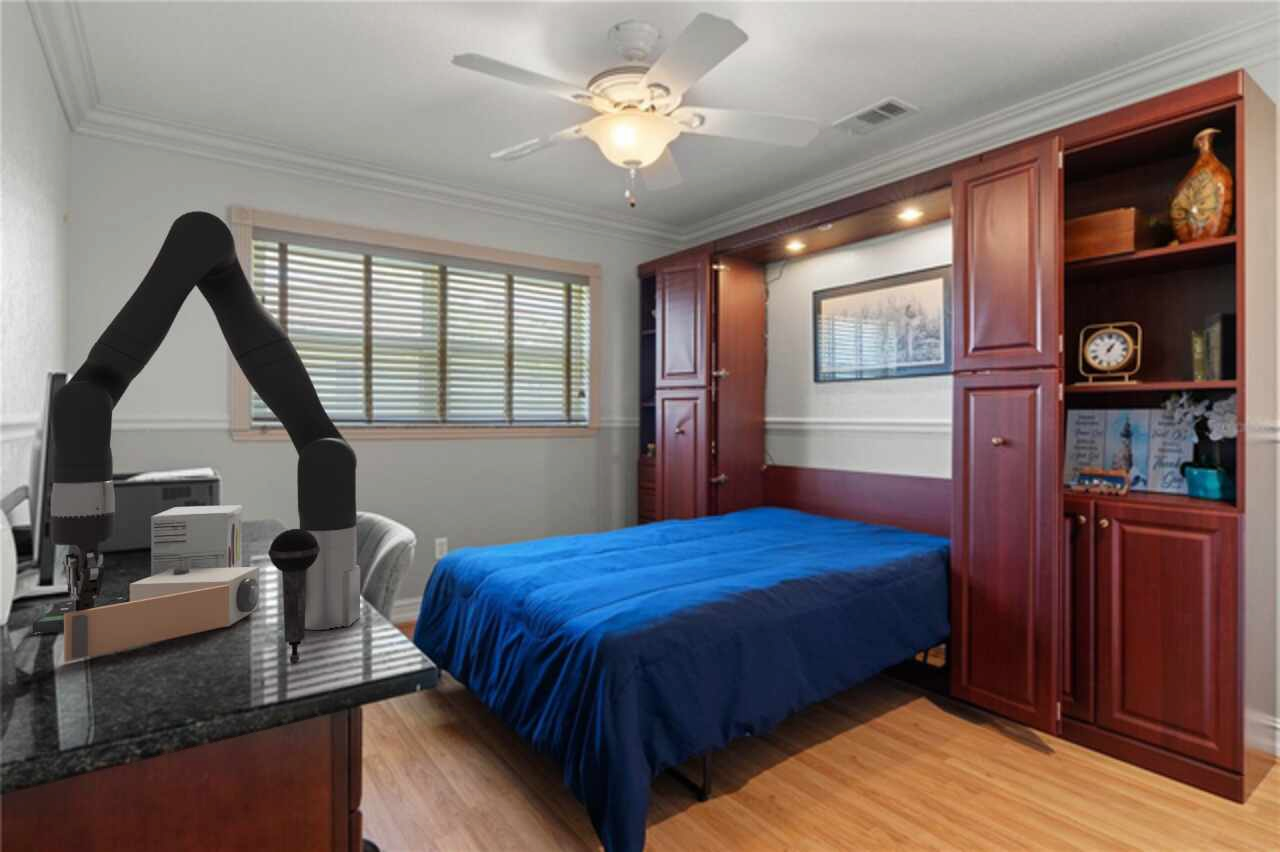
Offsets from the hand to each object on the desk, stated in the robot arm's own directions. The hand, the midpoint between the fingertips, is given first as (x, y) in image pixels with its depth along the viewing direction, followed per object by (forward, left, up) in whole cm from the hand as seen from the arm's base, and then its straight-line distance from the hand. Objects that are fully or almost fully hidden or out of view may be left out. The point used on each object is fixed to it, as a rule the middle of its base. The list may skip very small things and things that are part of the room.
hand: (83, 622), depth 101 cm
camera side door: (-8, -4, -5) cm, 10 cm away
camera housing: (-7, -19, -5) cm, 21 cm away
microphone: (-34, +7, -5) cm, 35 cm away
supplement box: (+2, -37, -5) cm, 37 cm away
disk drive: (+14, -21, -6) cm, 26 cm away
